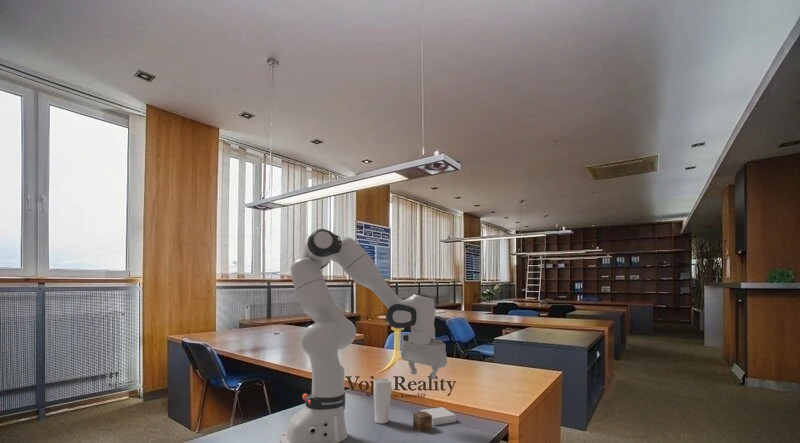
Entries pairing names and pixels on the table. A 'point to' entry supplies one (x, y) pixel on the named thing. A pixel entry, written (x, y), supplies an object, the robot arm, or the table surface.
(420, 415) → the walnut cube
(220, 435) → the table surface
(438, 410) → the grey tile
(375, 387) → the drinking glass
